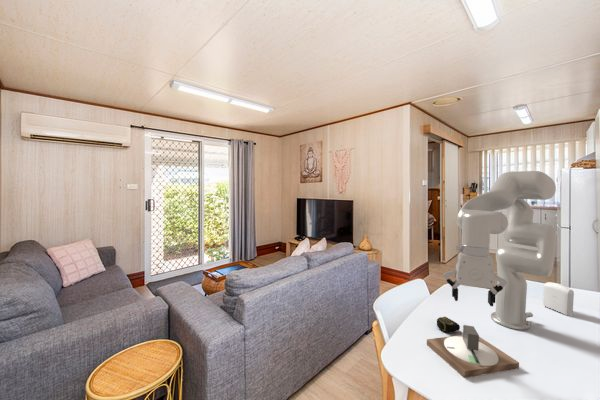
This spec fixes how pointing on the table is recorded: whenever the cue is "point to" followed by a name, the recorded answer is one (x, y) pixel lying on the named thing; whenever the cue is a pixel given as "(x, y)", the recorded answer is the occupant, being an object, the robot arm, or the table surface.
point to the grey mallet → (471, 339)
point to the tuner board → (469, 368)
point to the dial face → (460, 351)
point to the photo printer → (558, 298)
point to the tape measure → (447, 325)
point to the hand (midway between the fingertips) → (472, 301)
